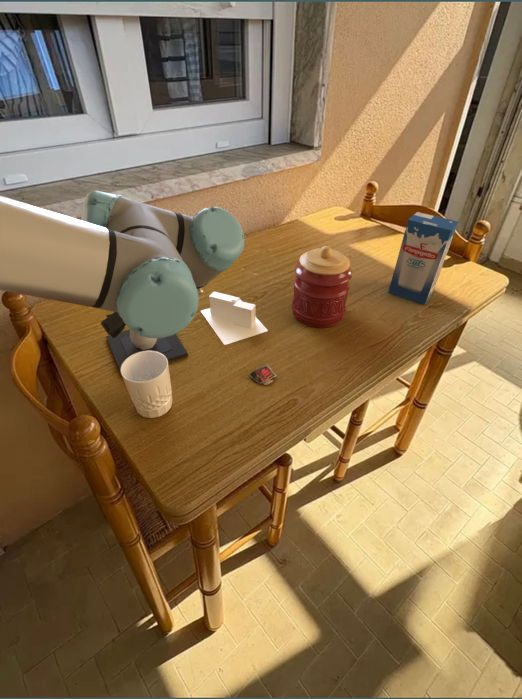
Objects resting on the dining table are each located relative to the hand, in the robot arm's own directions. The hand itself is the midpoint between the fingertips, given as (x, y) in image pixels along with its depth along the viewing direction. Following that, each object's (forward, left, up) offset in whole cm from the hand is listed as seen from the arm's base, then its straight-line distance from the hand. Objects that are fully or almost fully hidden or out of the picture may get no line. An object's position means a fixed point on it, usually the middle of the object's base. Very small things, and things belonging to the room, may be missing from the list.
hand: (139, 316), depth 78 cm
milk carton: (+68, +12, -9) cm, 69 cm away
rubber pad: (0, 0, -9) cm, 9 cm away
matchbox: (+24, -13, -9) cm, 28 cm away
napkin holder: (+20, +7, -9) cm, 23 cm away
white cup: (+2, -17, -9) cm, 19 cm away
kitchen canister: (+41, +7, -9) cm, 42 cm away
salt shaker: (0, 0, -8) cm, 8 cm away
